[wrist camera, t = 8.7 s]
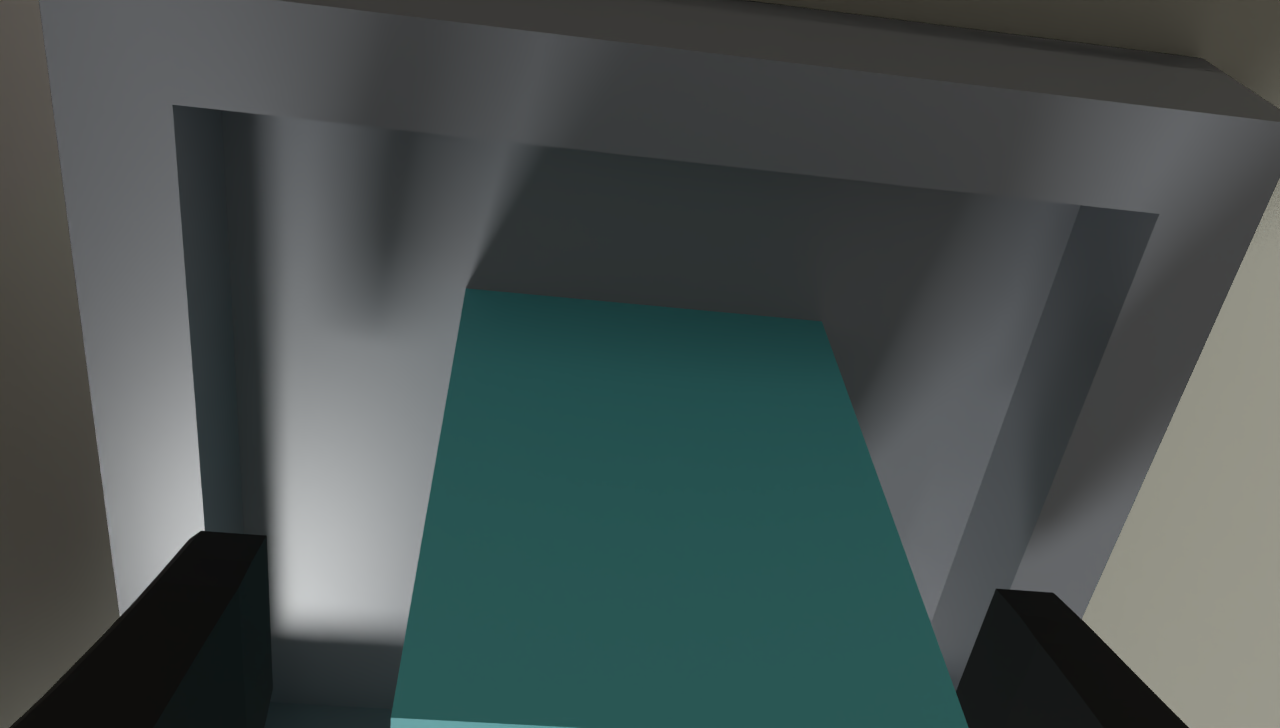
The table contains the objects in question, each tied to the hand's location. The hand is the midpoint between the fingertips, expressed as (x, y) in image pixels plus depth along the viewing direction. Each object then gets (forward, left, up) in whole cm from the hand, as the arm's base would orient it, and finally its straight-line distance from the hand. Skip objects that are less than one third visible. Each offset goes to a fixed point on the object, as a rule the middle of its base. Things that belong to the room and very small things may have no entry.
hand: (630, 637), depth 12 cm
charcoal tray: (0, 0, -3) cm, 3 cm away
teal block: (0, 0, -3) cm, 3 cm away
